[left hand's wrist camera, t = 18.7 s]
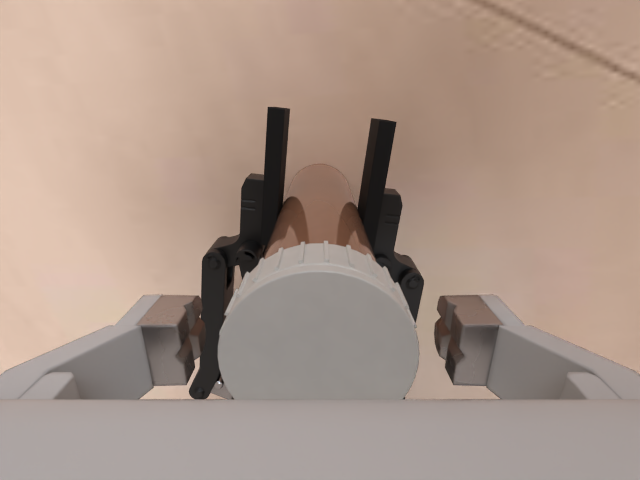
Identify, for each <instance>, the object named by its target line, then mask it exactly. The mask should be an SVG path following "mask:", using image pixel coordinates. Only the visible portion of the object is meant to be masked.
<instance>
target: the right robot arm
mask: <svg viewBox="0 0 640 480" xmlns="http://www.w3.org/2000/svg"><path fill="white" fill-rule="evenodd" d="M289 114H290V109H287V108H279V107H268V114H267V132H266V150H265V168H264V175H261V174H252V173H251V174H250V175H249V176H248V177H247V178H246V180H245V182H244V184H243V186H242V190H241V219H240V234H239V235H236V236H233V237H226V236H223V237H220V238H218V239H217V240H216V242H215V243H214V244H213V245H212V247H211V248H210V249H209V250H208V252H207V253H206V255H205V256H204V257H203V260H202V289H201V301H202V307H203V310H202V312H201V320H202V321H203V322H204V323H205V329H206V340H205V345H204V349H203V351H202V354H201V356H200V367H199V370H198V372H197V374H196V376H195V378H194V380H193V383H192V385H191V387H190V389H189V394H190V396H191V397H192V398H194V399H206V398H207V397H208V396H209V394H210V392H211V393H213V394H216V395H218V396H221V397H223V398H226V399H234V398H233V397H232V395H231V394H230V392H229V391H228V389H227V387H226V385H225V383H224V381H223V379H222V376H221V372H220V369H219V363H218V343H219V337H220V335H219V332H220V330H221V327H222V325H223V323H224V321H225V319H226V316H225V315H224V314H225V312H226V310H227V307H228V305H229V303H230V301H231V299H232V297H233V288H234V271H235V266H236V265H239V266H240V271H241V276H242V280H243V278H244V275H245V274H246V272H249V273H250V272H251V271H252V270H253V269H254V268H255V267H256V266H257V265H258V263H259V261H260V259H261V258H263V255H264V253H265V250H266V247H267V245H268V242H269V239H270V237H271V234H272V232H273V229H274V226H275V224H276V221H277V219H278V216H279V213H280V211H281V208H282V206H283V194H284V180H285V167H286V154H287V141H288V127H289ZM395 127H396V122H393V121H388V120H381V119H373V118H371V124H370V131H369V137H368V144H367V151H366V157H365V164H364V170H363V177H362V183H361V190H360V196H359V203H358V212H359V215H360V218H361V220H362V223H363V226H364V228H365V231H366V234H367V237H368V239H369V242H370V245H371V247H372V250H373V253H374V255H375V258H376V261H377V263H378V264H379V265H380V266H381V267H382V268H383V267H384V266H385V267H386V268H387V269H388V272H389V274H390V276H391V278H392V280H393V281H394V283H396V282H398V284H399V286H400V288H401V290H402V292H403V295H404V297H405V299H406V301H407V304H408V306H409V310H410V312H411V314H412V317H413V319H414V321H415V323H416V319H417V314H418V309H419V304H420V300H421V295H422V290H423V285H424V280H423V278H422V276H421V274H420V272H419V271H418V269H417V267H416V266H415V264H414V262H413V261H412V259H411V258H410V257H409V256H406V255H400V254H398V253H396V252H394V246H395V241H396V236H397V230H398V224H399V220H400V215H401V210H402V201H401V196H400V195H399V193H398V192H397V191H396V190H395V189H388V188H385V184H386V178H387V173H388V167H389V161H390V156H391V150H392V144H393V139H394V133H395ZM403 399H405V397H404V398H403Z"/></svg>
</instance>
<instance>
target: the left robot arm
mask: <svg viewBox="0 0 640 480" xmlns="http://www.w3.org/2000/svg"><path fill="white" fill-rule="evenodd" d="M202 310H203V307H202V301H201V298H200V297H199V296H195V295H143V296H142V297H141V298H140V299H139V300H138V301H137V302H136V304H135V305H134V306H133V307H132V308H131V309H130V310H129V311H128V312H127V313H126V314H125V315H124V316H123V317H122V318H121V319H120V320H119V321H118V322H117V324H116V325H115V326H107V327H104V328H102V329H100V330H97V331H95V332H93V333H91V334H88V335H86V336H84V337H81V338H79V339H77V340H75V341H72V342H70V343H68V344H65V345H63V346H61V347H59V348H56V349H54V350H52V351H49V352H47V353H45V354H42V355H40V356H38V357H36V358H33V359H31V360H29V361H26V362H24V363H22V364H20V365H17V366H15V367H13V368H10V369H8V370H6V371H5V372H3V373H2V374H1V375H0V480H640V375H639V374H638V373H637V372H636V371H634V370H632V369H629V368H627V367H625V366H622V365H620V364H618V363H616V362H613V361H611V360H609V359H606V358H604V357H602V356H600V355H597V354H595V353H593V352H590V351H588V350H586V349H584V348H581V347H579V346H577V345H574V344H572V343H570V342H568V341H565V340H563V339H561V338H558V337H556V336H554V335H552V334H549V333H547V332H545V331H542V330H540V329H538V328H536V327H533V326H525V325H524V324H523V323H522V321H521V320H520V319H519V318H518V317H517V316H516V315H515V314H514V313H513V312H512V311H511V310H510V309H509V308H508V307H507V306H506V305H505V304H504V302H503V301H502V300H501V299H500V298H499V297H498V296H496V295H493V294H492V295H452V296H440V298H439V301H438V306H437V310H438V312H439V314H440V316H441V317H440V318H439V320H438V321H437V322H436V323H435V330H434V338H435V345H436V349H437V352H438V354H439V356H440V357H442V358H443V359H445V360H446V363H445V369H446V371H447V373H448V375H449V377H450V379H451V381H452V383H453V385H470V386H487V388H488V389H489V390H490V391H492V392H493V393H494V394H495V395H497V396H498V397H499V398H500V399H140V398H141V397H142V396H144V395H145V394H146V393H147V392H149V391H150V390H151V389H152V388H153V386H169V385H187V383H188V381H189V379H190V377H191V375H192V373H193V370H194V368H195V363H194V360H195V359H197V358H198V357H200V356H201V354H202V351H203V349H204V345H205V340H206V329H205V323H204V322H203V321H202V320H201V318H200V317H199V316H200V314H201V312H202Z"/></svg>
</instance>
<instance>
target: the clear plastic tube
mask: <svg viewBox="0 0 640 480" xmlns="http://www.w3.org/2000/svg"><path fill="white" fill-rule="evenodd" d="M324 241H328V244H334V245H339V246H343V247H346V245H350V246H351V249H353V250H355V251H358V252H360V253H362V254H364V255H367V253H368V254H370V255H371V257H372V260H373V261H375V262H376V263H377V261H376V258H375V255H374V253H373V250H372V247H371V245H370V242H369V239H368V237H367V234H366V231H365V228H364V226H363V223H362V220H361V218H360V215H359V212H358V209H357V207H356V204H355V201H354V199H353V196H352V193H351V190H350V188H349V185H348V182H347V180H346V179H345V177H344V176H343V174H342V173H341V172H340V171H338V170H337V169H335V168H334V167H331V166H329V165H325V164H314V165H310V166H307V167H305V168H303V169H302V170H301V171H299V172H298V173H297V174H296V176H295V177H294V178H293V180H292V182H291V185H290V187H289V190H288V193H287V195H286V198H285V200H284V203H283V206H282V208H281V211H280V213H279V216H278V219H277V221H276V224H275V226H274V229H273V232H272V234H271V237H270V239H269V242H268V245H267V247H266V250H265V253H264V255H263V258H264V259H266V258H268V257H270V256H272V255H273V254H275V253H277V252H278V250H279V248H282V247H283V249H287V248H290V247H294V246H298V245H300V244H301V242H305V244H311V243H324Z"/></svg>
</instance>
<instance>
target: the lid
mask: <svg viewBox="0 0 640 480" xmlns="http://www.w3.org/2000/svg"><path fill="white" fill-rule="evenodd" d="M224 315H225V316H226V319H225V321H224V323H223V325H222V327H221V330H220V332H219V335H220V337H219V343H218V363H219V369H220V372H221V376H222V379H223V381H224V383H225V385H226V387H227V389H228V391H229V392H230V394H231V395H232V397H233V398H234V399H403V398H404V397H405V396H406V394H407V392H408V391H409V389H410V387H411V385H412V383H413V381H414V378H415V376H416V372H417V368H418V363H419V343H418V338H417V334H416V331H415V328H417V327H416V323H415V321H414V319H413V317H412V314H411V312H410V310H409V306H408V304H407V301H406V299H405V297H404V295H403V292H402V290H401V288H400V286H399V284H398V282H396V283H394V281H393V280H392V278H391V276H390V274H389V272H388V269H387V268H386V267H385V266H384V267H383V268H382V267H381V266H380V265H379V264H378V263H376V262H375V261H373V260H372V257H371V255H370V254H368V253H367V255H364V254H362V253H360V252H358V251H355V250H353V249H351V246H350V245H346V247H343V246H339V245H334V244H328V241H324V243H311V244H305V242H301V244H300V245H298V246H294V247H290V248H287V249H283V247H282V248H279V250H278V252H277V253H275V254H273V255H272V256H270V257H268V258H266V259H264V258H261V259H260V261H259V263H258V265H257V266H256V267H255V268H254V269H253V270H252V271H251V272H250V273H249V272H246V274H245V275H244V278H243V280H242V282H241V284H240V287H239V289H237V288H236V290H235V292H234V295H233V297H232V299H231V301H230V303H229V305H228V307H227V310H226V312H225V314H224Z"/></svg>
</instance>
